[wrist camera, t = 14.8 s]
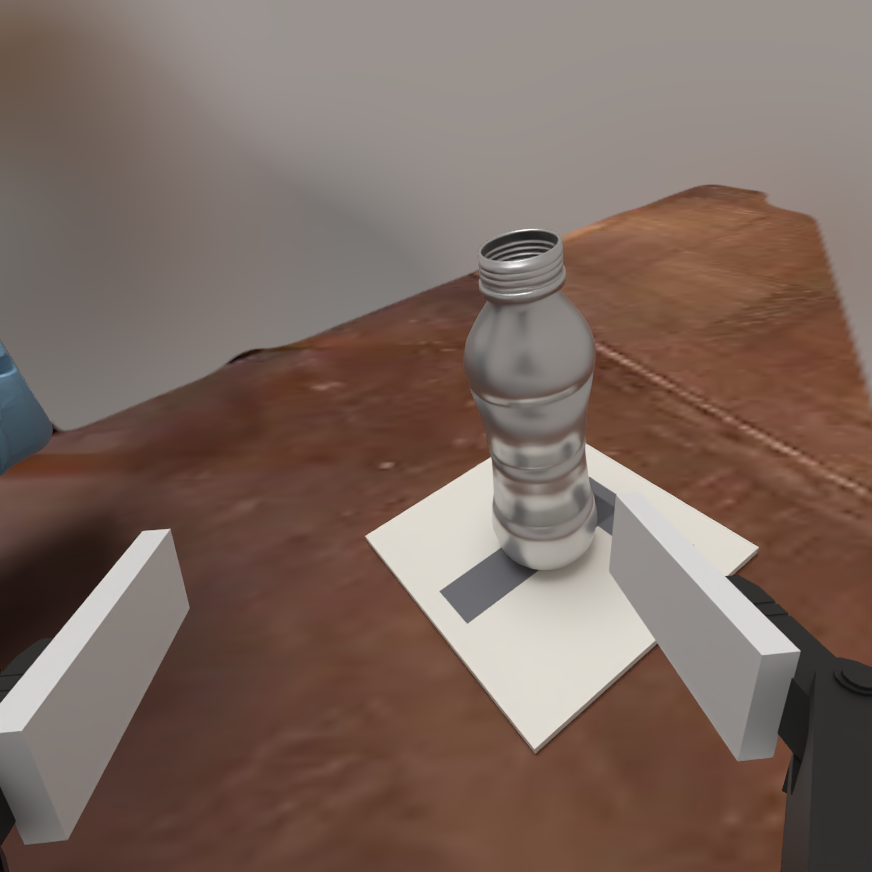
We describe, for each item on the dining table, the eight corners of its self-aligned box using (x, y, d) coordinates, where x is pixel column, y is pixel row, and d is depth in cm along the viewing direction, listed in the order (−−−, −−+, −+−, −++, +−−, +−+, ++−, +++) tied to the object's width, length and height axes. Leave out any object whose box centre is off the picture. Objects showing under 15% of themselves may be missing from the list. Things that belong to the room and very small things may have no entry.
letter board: (367, 541, 39) (365, 536, 38) (548, 426, 45) (548, 421, 44) (535, 754, 26) (534, 749, 26) (756, 553, 32) (758, 547, 32)
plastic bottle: (613, 524, 35) (624, 217, 23) (568, 602, 31) (551, 286, 19) (527, 493, 39) (496, 213, 26) (477, 560, 35) (413, 271, 22)
